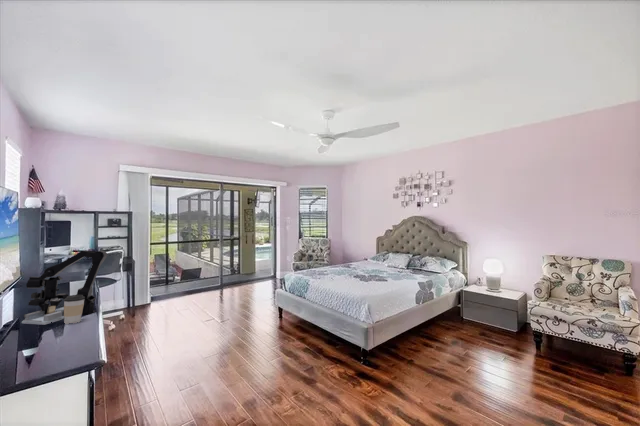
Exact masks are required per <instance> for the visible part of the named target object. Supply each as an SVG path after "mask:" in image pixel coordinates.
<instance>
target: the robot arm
mask: <svg viewBox="0 0 640 426" xmlns="http://www.w3.org/2000/svg"><path fill="white" fill-rule="evenodd" d="M107 257H108V253H107V252H106V251H105V250H98V251H96V250H87V249H84V250H80V251H79V252H78V253H76V254H74V255H72V256H70V257H69V258H67V259H66V260H63V261H62V262H60V263H57V264H55V265H52V266H50V267H47V268H45V269H44V271H43V273H42V274H41V275H40V276H29V277H28V278H29V279H28V280H27V282H26V285H25V286H26V288H27V289H41V288H43V289H41V291H40V292H32V293H31V295H30V298H31V299H30V300H29V301H28V306H34V307H35V306H38V307H40V311H41V310H42V311H45V312H44V315H46V313H47V310H48V307H49V305H50V306H56V308H57V307H58V305H60V303H61V302H63V300H64V299H65V298H67V296H69V294H68V293H58V294H57V291H60V289H59V288H58V284H59V283H58V282H59V281H61V280H63V277H61V276H60V275H59V274H61V273H62V272H63V271H65V269H67V268H68V267H70V266H71V265H74V263H77V262H79V261H80V260H82V259H83V258H88V259H91V260H92V261H91V267H90V268H89V272H88V275H87V277H86V280H85V282H84V285H83V286H82V287H80V288H78V289H77V292H76V294H75V295H83V296H84V297H85V299H84V306H83V311H82V315H89V314H93V313H95V312H96V310H94V308H95V302H96V301H95V300H96V299H97V298H96V297H95V295H93V286H94V283H95V281H96V278H97V275H98V273H99V270H100V268H101V266H102V265H103V263H104V261H105V260H106V259H107ZM55 276H56V277H55ZM62 299H63V300H62ZM48 302H49V303H48ZM56 308H55V310H56Z"/></svg>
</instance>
